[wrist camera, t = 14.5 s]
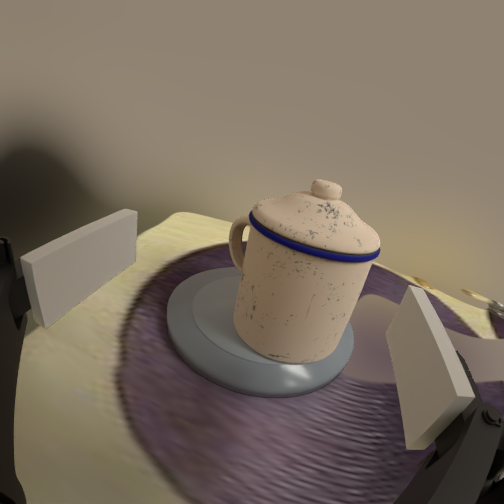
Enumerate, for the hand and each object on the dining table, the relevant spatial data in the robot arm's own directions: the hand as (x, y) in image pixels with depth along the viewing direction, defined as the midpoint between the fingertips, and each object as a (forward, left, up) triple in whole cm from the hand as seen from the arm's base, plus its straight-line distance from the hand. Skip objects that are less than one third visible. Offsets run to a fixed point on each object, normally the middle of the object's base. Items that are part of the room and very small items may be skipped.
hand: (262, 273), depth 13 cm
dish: (0, -9, -9) cm, 13 cm away
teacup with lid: (-1, -8, -8) cm, 12 cm away
